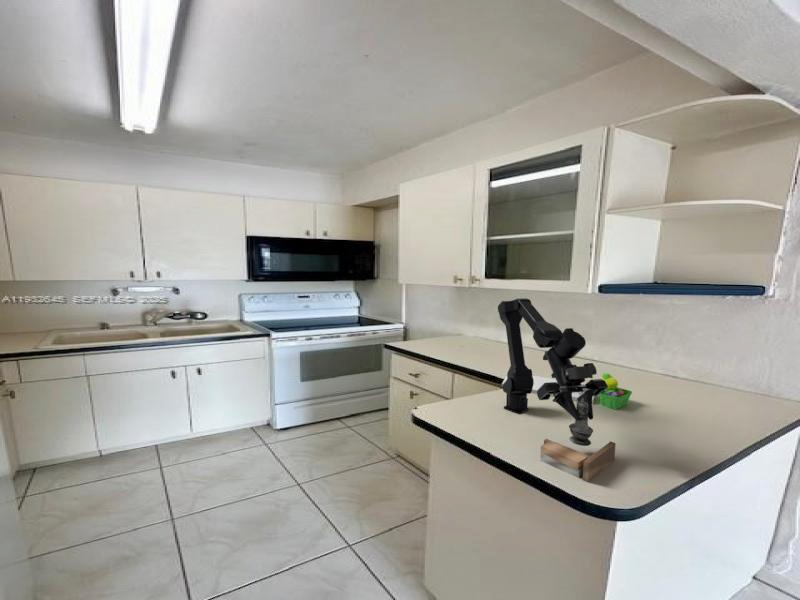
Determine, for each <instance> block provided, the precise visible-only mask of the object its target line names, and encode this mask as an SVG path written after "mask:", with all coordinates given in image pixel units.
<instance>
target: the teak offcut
mask: <svg viewBox="0 0 800 600" xmlns="http://www.w3.org/2000/svg"><path fill="white" fill-rule="evenodd" d="M541 453H542V454H544V455H546V456H548V457H550V458H552V459H555V460H557V461H559V462H561V463H563V464H565V465H567V466H569V467H572V468H574V469H576V470H579V469H581V468H583V464H584V461H585V460H586V459H587V457H585V456H583V455H580V454H578V453H576V452H573V451H571V450H569V449H566V448H564V447H562V446H559V445H557V444H555V443H552V442H550V441H549V442H547V443H545V444H544V443H543V444H542V445H540V454H541Z"/></svg>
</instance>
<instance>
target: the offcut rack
mask: <svg viewBox="0 0 800 600" xmlns="http://www.w3.org/2000/svg"><path fill="white" fill-rule="evenodd" d="M549 441H550V442H552V443H555V444H557V445H559V446H562V447H564V448H566V449H569V450H571V451H573V452H576V453H578V454H580V455H583V456H585V457H587V459H586V460H585V461H584V464H583V475H582V481H584V482H586V483H589V482H590V481H591V480H593V478H595V477H596V476H598V474H599V473H601V472H602V471H603V470H604V469H606V468H607V467H608V466H609V465H610V464H612V462H614V461H615V457H616V456H615V455H616V442H614V441H609V442H608V443H606V444H605V445H604V446H603V447H601V448H599V450H597V451H596V452H594V453H593V454H592V455H588V454H586V453H583V452H581V451H580V450H579V451H578V450H575V449H573V448H571V447H568V446H566V445H564V444H562V443H561V444H560V443H558V442H556V441H553V440H551V439H548V438H545V439H544V440H543V444H545V443H547V442H549Z"/></svg>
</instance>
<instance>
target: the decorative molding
mask: <svg viewBox="0 0 800 600" xmlns="http://www.w3.org/2000/svg"><path fill="white" fill-rule="evenodd" d="M532 376H533V380H534V384H533V388H532V391H531V394H532V393H534V394H537V390H538V389H539V388H540V387H541V386H542V385H543V384H544V383H550V382H556V383H557V381H556V378H549V377H545V376H544V377H543V376H538V375H532ZM506 380H507V375H505V378H504V379H503V381H502V383H501V386H502V385H503V384H504V383H505V381H506ZM585 384H586V383H581V385H585ZM502 388H503V386H502ZM550 397H554V395H553V394H550ZM578 397H579V394H578V392H575V393H572V400H573V402H575V401H576V402H578V400H577V398H578ZM595 398H596V396H593V397H592V405H593V404H594V402H595Z"/></svg>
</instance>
